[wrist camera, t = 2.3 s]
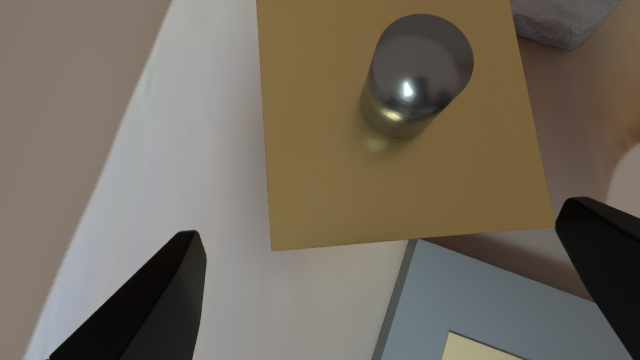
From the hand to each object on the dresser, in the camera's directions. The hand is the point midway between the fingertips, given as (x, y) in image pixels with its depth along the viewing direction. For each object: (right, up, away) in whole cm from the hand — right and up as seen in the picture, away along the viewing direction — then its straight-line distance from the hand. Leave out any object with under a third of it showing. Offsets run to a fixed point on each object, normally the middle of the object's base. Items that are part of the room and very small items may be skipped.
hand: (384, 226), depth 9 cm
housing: (0, 0, +10) cm, 10 cm away
